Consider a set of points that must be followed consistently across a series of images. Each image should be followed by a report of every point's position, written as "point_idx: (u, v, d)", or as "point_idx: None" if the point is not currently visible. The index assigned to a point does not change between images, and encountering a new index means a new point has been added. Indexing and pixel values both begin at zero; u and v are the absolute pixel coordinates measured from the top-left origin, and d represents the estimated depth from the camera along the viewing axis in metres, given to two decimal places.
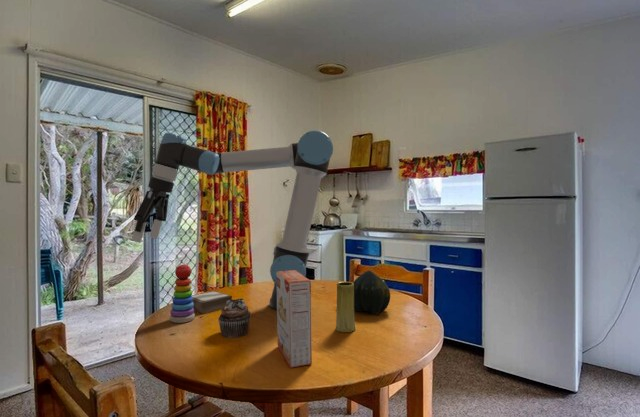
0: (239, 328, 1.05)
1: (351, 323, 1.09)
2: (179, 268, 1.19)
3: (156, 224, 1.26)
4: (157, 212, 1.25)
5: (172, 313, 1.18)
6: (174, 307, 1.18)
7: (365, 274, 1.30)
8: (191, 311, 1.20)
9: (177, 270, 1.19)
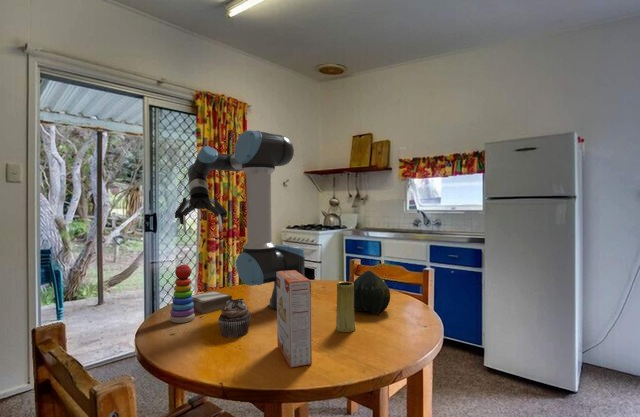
0: (239, 328, 1.05)
1: (351, 323, 1.09)
2: (179, 268, 1.19)
3: (218, 219, 1.46)
4: (214, 212, 1.48)
5: (172, 313, 1.18)
6: (174, 307, 1.18)
7: (365, 274, 1.30)
8: (191, 311, 1.20)
9: (177, 270, 1.19)
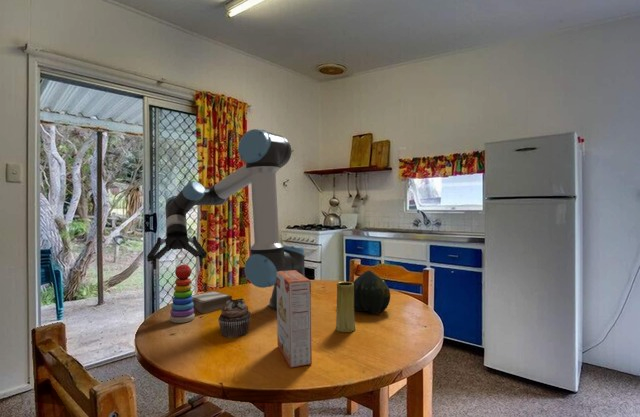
0: (239, 328, 1.05)
1: (351, 323, 1.09)
2: (179, 268, 1.19)
3: None
4: (192, 253, 1.34)
5: (172, 313, 1.18)
6: (174, 307, 1.18)
7: (365, 274, 1.30)
8: (191, 311, 1.20)
9: (177, 270, 1.19)
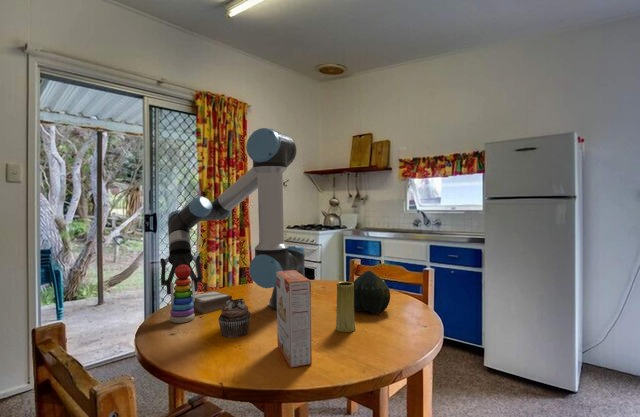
0: (239, 328, 1.05)
1: (351, 323, 1.09)
2: (179, 268, 1.19)
3: (191, 287, 1.22)
4: None
5: (172, 313, 1.18)
6: (174, 307, 1.18)
7: (365, 274, 1.30)
8: (191, 311, 1.20)
9: (177, 270, 1.19)
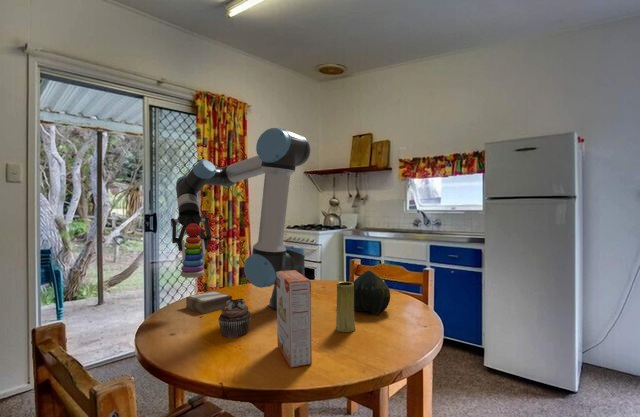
0: (239, 328, 1.05)
1: (351, 323, 1.09)
2: (190, 226, 1.25)
3: (201, 245, 1.28)
4: (199, 234, 1.31)
5: (183, 268, 1.23)
6: (185, 263, 1.23)
7: (365, 274, 1.30)
8: (201, 267, 1.26)
9: (188, 228, 1.24)
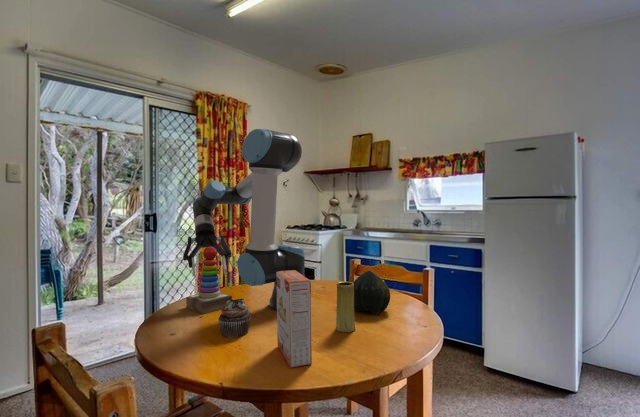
0: (239, 328, 1.05)
1: (351, 323, 1.09)
2: (207, 249, 1.33)
3: (222, 261, 1.38)
4: (218, 252, 1.41)
5: (201, 289, 1.32)
6: (203, 284, 1.32)
7: (365, 274, 1.30)
8: (217, 288, 1.34)
9: (205, 251, 1.33)
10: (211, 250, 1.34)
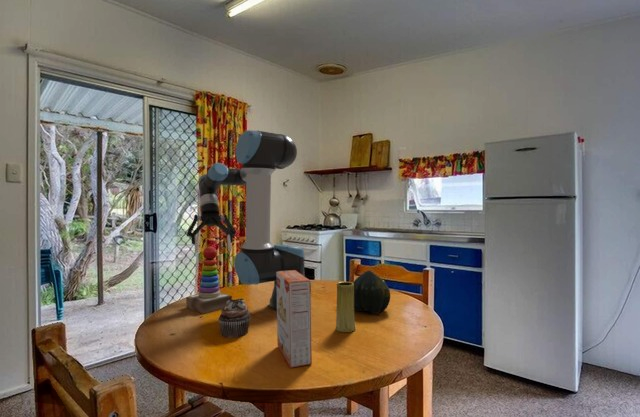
0: (239, 328, 1.05)
1: (351, 323, 1.09)
2: (207, 249, 1.33)
3: (227, 239, 1.54)
4: (223, 230, 1.56)
5: (201, 289, 1.32)
6: (203, 284, 1.32)
7: (365, 274, 1.30)
8: (217, 288, 1.34)
9: (205, 251, 1.33)
10: (211, 250, 1.34)
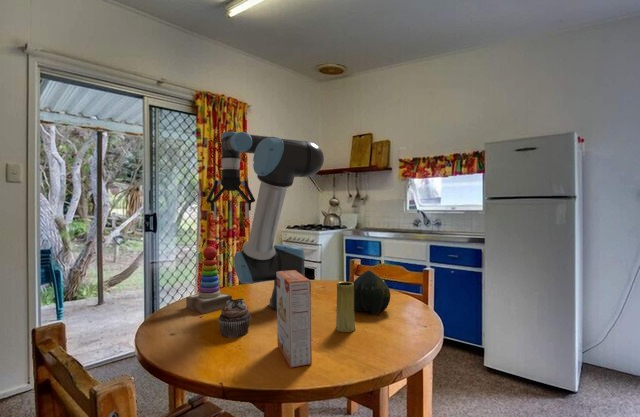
0: (239, 328, 1.05)
1: (351, 323, 1.09)
2: (207, 249, 1.33)
3: (246, 207, 1.55)
4: None
5: (201, 289, 1.32)
6: (203, 284, 1.32)
7: (365, 274, 1.30)
8: (217, 288, 1.34)
9: (205, 251, 1.33)
10: (211, 250, 1.34)
